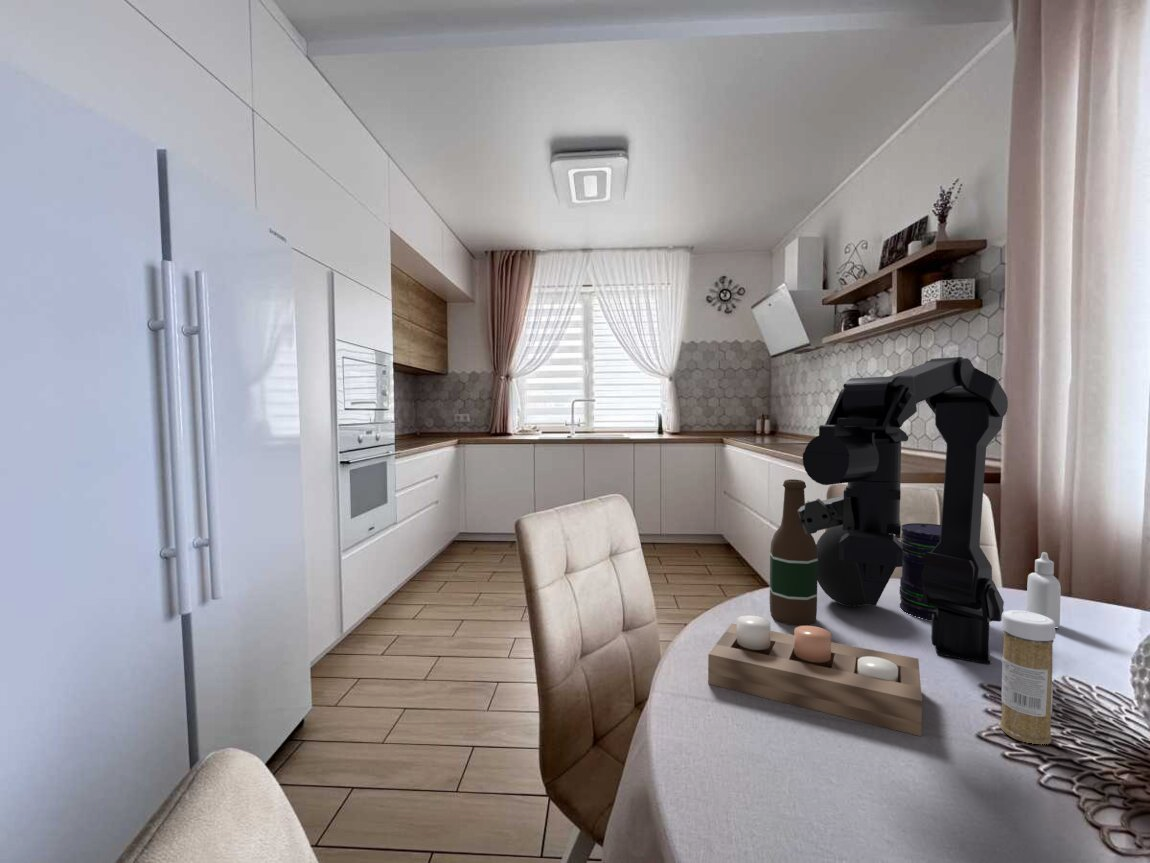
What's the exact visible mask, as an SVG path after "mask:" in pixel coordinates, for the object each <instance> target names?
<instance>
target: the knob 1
mask: <svg viewBox="0 0 1150 863" xmlns="http://www.w3.org/2000/svg"><path fill="white" fill-rule="evenodd" d="M736 624H737V643H738V644H739V645H740V646H742V647H745V648H748V649H753V650H763V649H767V648H769V647H770V633H771V631H772V630H771V629H772V628H771V626H772V625H771V624H772V622H771V621H770V620H768V619H767V618H765V617H762V616H757V615H740V616H739V617H737V619H736Z"/></svg>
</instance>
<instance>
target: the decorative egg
mask: <svg viewBox="0 0 1150 863" xmlns="http://www.w3.org/2000/svg"><path fill="white" fill-rule="evenodd" d="M847 532H848V531H847V530H843V524H842V525H839V526H836V527H831V528H827V529H826V530H825V531H824V532H823V533H822V534H821V535H820V536H819V538H818V540H817V542H816V546H817V555H818V572H817V584H818V585H819V586H820V588H821V589H822V591H823V592H824V593H825V595H826V596H828V597H829V598H830V599H832V600H833V601H835V602H836V603H838V604H840V605H842V606H848V607H861V606H865V605H867V604H866V602H865V597H864V593H863V588H862V583H861V579H860V574H859V570H858V566H857V564H856V563H855V562H850V561H843V560H840V559H839V542H840V540H841V537H842V536H844V535H845V534H846V533H847Z"/></svg>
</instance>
